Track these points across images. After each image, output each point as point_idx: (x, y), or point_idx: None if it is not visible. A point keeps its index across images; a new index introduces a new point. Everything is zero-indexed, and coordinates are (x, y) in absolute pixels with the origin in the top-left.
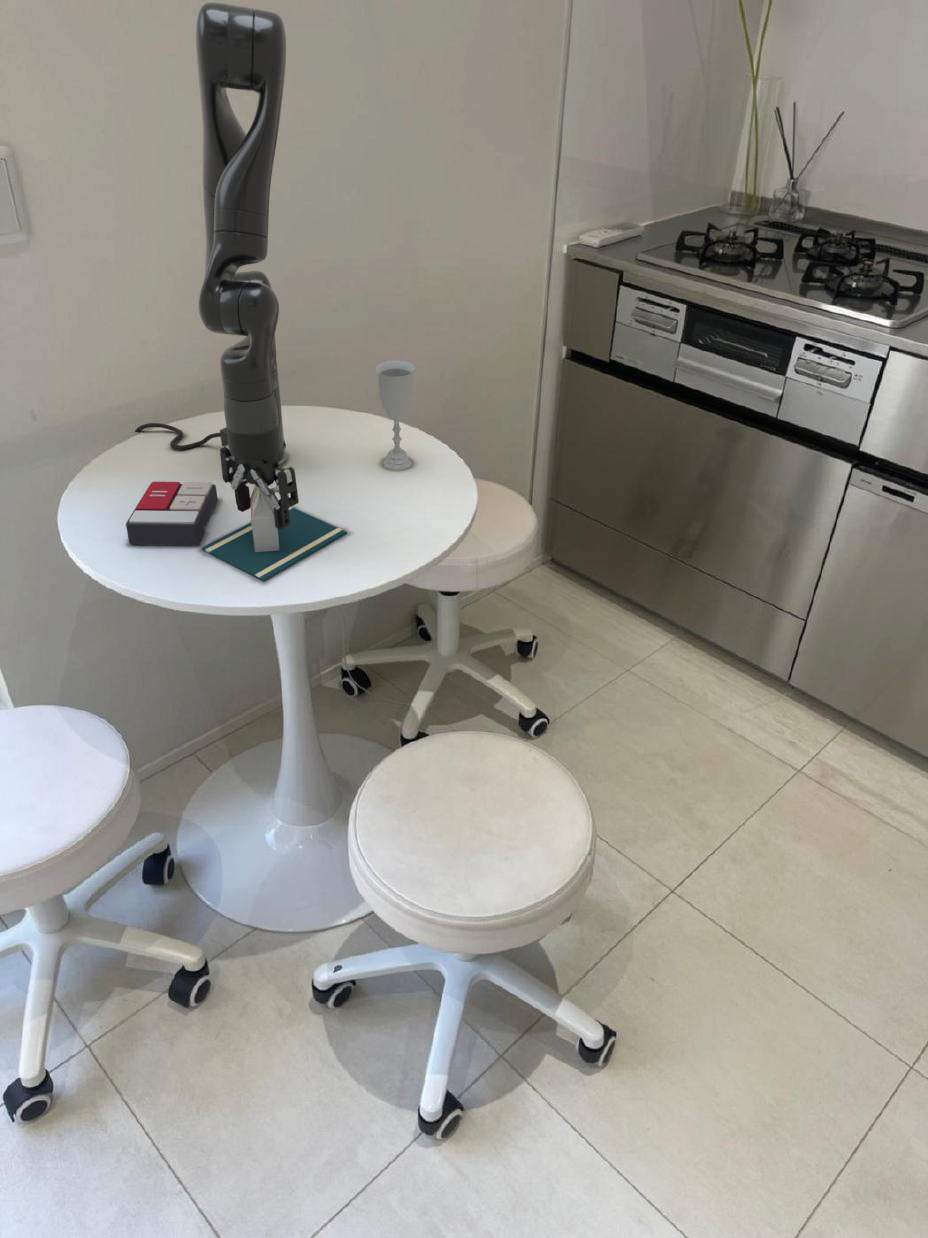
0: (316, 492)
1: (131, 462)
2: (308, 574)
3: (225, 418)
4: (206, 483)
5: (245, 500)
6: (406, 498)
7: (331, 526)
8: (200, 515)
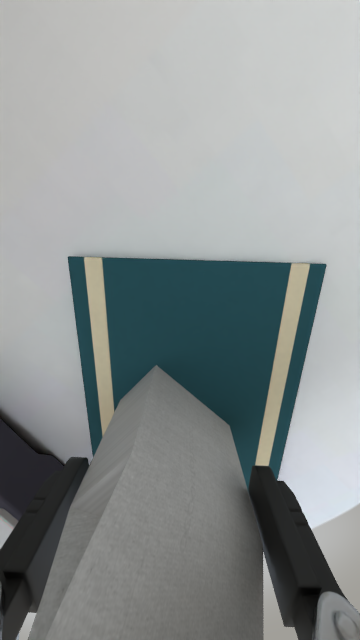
0: (63, 104)
1: None
2: (332, 441)
3: None
4: None
5: (68, 509)
6: None
7: (269, 270)
8: (15, 512)
